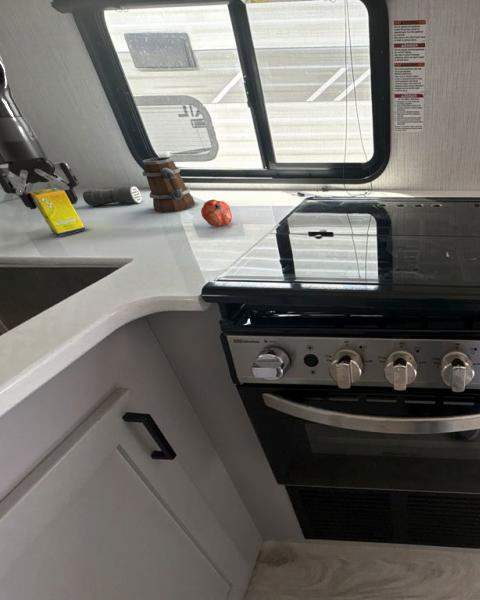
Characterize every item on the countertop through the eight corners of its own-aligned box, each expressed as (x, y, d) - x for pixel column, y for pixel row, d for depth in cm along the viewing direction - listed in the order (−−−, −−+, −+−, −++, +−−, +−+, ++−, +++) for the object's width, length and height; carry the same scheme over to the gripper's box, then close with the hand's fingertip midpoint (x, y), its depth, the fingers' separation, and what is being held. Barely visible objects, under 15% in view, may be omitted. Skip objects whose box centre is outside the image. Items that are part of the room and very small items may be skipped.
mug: (150, 208, 110) (129, 160, 102) (188, 200, 117) (172, 154, 109) (166, 217, 101) (144, 165, 93) (206, 208, 108) (190, 159, 100)
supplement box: (52, 232, 91) (27, 192, 85) (78, 226, 95) (57, 187, 89) (59, 236, 88) (34, 195, 82) (86, 229, 92) (64, 190, 86)
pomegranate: (205, 233, 95) (202, 220, 86) (200, 209, 95) (196, 193, 86) (234, 231, 98) (233, 218, 89) (228, 207, 99) (228, 192, 90)
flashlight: (86, 208, 111) (77, 192, 108) (95, 204, 116) (87, 188, 113) (136, 204, 114) (129, 188, 111) (143, 200, 118) (136, 184, 115)
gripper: (58, 135, 85) (91, 198, 93) (-19, 139, 79) (24, 206, 88) (49, 137, 79) (84, 205, 88) (-34, 142, 73) (13, 214, 82)
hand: (54, 205), depth 88 cm, fingers open, 8 cm apart
